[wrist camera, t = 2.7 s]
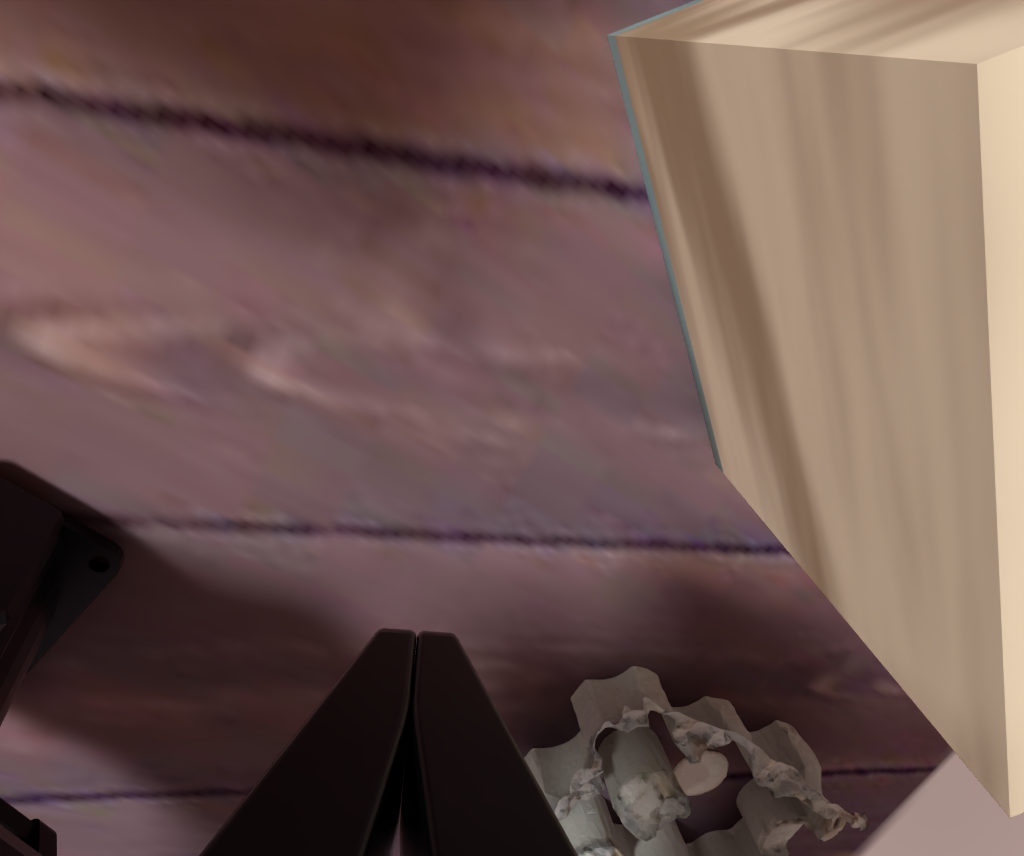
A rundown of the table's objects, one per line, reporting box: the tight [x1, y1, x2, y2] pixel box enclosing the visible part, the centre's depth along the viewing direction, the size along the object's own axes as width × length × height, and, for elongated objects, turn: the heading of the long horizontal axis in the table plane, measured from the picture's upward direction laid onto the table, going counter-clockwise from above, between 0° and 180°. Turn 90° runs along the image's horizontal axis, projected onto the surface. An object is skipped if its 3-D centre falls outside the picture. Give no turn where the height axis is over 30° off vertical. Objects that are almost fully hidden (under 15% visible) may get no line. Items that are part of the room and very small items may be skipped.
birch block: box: [607, 0, 1024, 818], centre depth 16 cm, size 5×12×12 cm, turn 19°
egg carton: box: [524, 666, 869, 856], centre depth 28 cm, size 11×8×4 cm
